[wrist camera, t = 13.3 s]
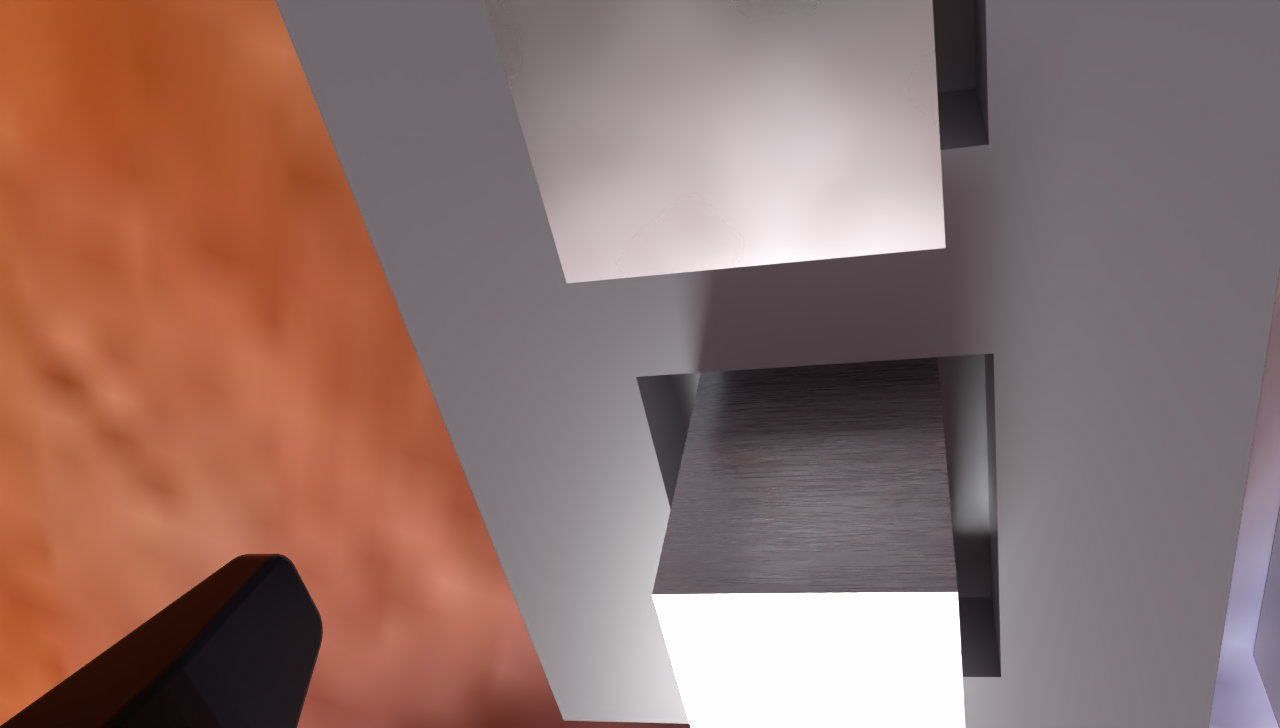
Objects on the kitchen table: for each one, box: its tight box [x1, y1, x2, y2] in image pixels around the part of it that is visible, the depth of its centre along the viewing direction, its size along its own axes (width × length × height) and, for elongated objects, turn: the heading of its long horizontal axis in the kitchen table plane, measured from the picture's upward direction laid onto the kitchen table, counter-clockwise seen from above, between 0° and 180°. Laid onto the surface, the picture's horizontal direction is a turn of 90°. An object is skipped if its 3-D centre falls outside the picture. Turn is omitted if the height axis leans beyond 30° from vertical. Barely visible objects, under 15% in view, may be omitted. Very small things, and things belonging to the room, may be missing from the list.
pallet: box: [276, 0, 1280, 728], centre depth 17 cm, size 22×13×3 cm, turn 12°
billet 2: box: [652, 357, 965, 728], centre depth 18 cm, size 6×4×6 cm, turn 12°
